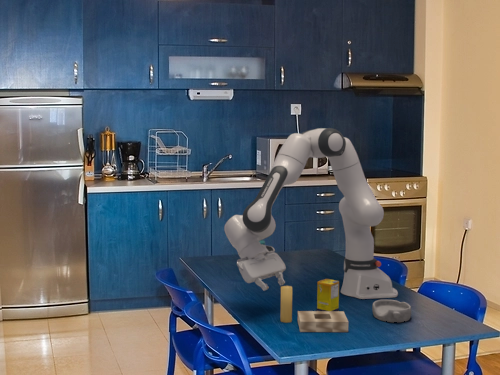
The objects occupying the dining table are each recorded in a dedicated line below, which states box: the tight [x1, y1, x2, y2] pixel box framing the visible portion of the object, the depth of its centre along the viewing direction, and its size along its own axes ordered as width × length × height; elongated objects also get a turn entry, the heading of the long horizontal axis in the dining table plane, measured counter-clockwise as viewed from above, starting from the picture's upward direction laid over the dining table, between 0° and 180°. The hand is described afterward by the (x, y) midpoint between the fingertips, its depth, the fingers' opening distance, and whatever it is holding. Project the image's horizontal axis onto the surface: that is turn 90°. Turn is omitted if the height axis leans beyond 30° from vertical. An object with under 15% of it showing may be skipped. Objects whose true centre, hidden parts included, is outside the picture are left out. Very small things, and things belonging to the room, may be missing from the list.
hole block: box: [297, 310, 349, 333], centre depth 245 cm, size 16×12×4 cm
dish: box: [371, 299, 412, 323], centre depth 256 cm, size 14×14×5 cm
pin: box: [279, 285, 293, 324], centre depth 250 cm, size 4×4×12 cm
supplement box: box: [316, 278, 340, 311], centre depth 263 cm, size 6×6×11 cm
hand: (274, 286), depth 253 cm, fingers open, 8 cm apart
